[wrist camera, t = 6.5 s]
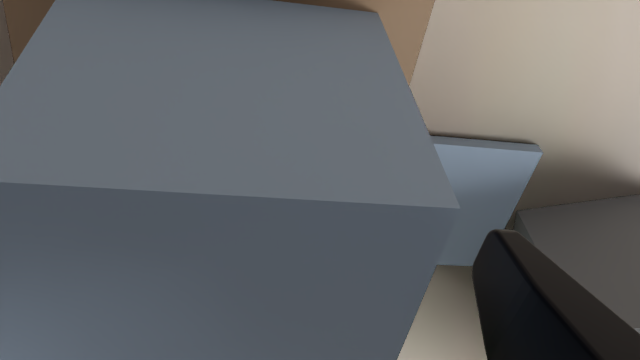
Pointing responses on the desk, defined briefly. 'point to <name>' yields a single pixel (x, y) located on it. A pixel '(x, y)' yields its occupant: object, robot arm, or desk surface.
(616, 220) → the charcoal cube
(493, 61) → the desk surface
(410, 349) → the desk surface
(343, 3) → the walnut plinth
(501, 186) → the swatch
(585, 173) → the desk surface
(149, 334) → the blue cube
